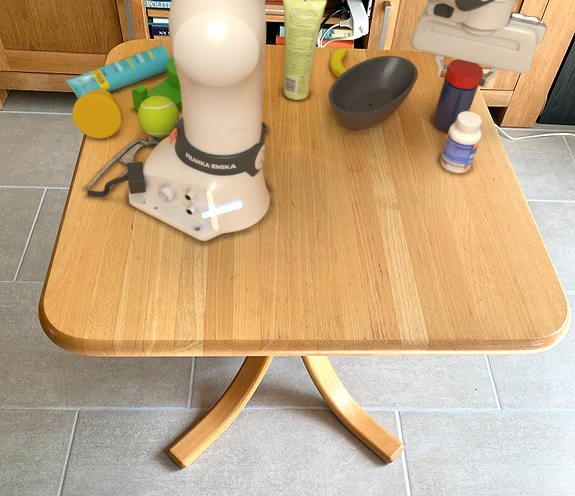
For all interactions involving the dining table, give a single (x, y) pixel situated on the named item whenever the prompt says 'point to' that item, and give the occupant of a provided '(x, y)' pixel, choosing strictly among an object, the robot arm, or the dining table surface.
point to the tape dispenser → (161, 88)
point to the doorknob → (97, 114)
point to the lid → (464, 74)
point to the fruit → (338, 61)
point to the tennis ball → (158, 116)
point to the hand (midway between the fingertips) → (461, 80)
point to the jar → (451, 105)
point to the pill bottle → (462, 142)
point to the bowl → (371, 91)
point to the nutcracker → (127, 156)
